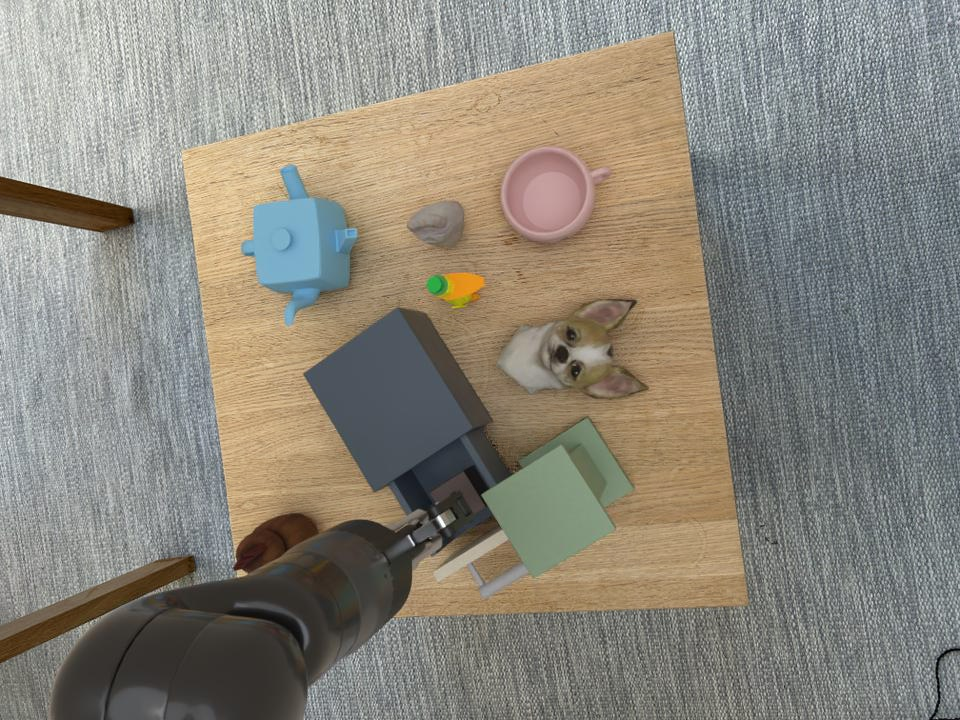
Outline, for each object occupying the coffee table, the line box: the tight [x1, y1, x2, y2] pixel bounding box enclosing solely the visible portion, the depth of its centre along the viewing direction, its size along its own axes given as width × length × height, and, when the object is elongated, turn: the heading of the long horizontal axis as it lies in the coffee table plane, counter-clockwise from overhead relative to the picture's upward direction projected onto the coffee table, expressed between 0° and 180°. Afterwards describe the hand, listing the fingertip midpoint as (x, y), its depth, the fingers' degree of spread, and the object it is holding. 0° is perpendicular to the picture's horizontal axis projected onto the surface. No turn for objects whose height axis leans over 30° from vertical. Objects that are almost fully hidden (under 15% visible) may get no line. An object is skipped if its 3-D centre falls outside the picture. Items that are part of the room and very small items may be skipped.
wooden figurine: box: [232, 512, 319, 574], centre depth 84 cm, size 7×6×15 cm
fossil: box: [406, 200, 466, 249], centre depth 82 cm, size 6×4×10 cm, turn 123°
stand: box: [481, 416, 636, 579], centre depth 73 cm, size 9×9×22 cm
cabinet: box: [302, 306, 494, 493], centre depth 83 cm, size 15×13×10 cm
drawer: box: [387, 427, 530, 600], centre depth 82 cm, size 18×11×8 cm, turn 33°
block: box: [429, 465, 489, 514], centre depth 82 cm, size 4×4×4 cm
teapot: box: [240, 164, 359, 327], centre depth 86 cm, size 18×14×10 cm
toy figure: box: [426, 272, 486, 310], centre depth 81 cm, size 7×4×12 cm, turn 98°
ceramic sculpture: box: [496, 298, 650, 401], centre depth 80 cm, size 11×9×15 cm
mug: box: [499, 144, 613, 244], centre depth 81 cm, size 12×10×6 cm
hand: (414, 536), depth 66 cm, fingers open, 8 cm apart
